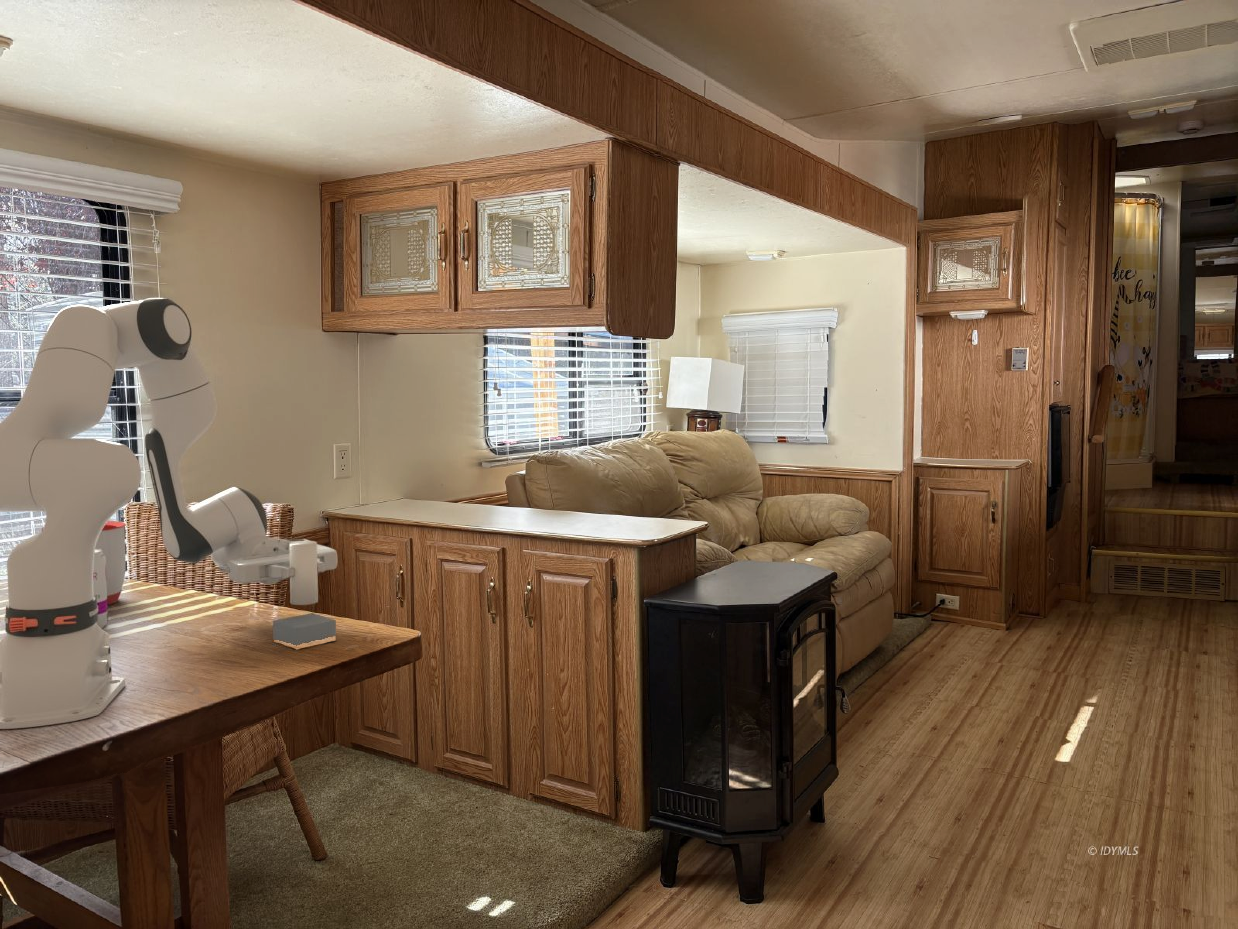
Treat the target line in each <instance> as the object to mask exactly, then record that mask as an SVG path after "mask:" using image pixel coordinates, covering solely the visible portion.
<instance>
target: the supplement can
mask: <svg viewBox="0 0 1238 929" xmlns="http://www.w3.org/2000/svg"><path fill="white" fill-rule="evenodd" d="M93 591H94V597H95V598H96V599H97V605H98V621H97V622H96V623H97V625H98V626H99V627H100V628H101V629H104V627H105V626H106V625H107V624H108V623H109V620H108V618H109V617H108V616H109V615H108V614H109V613H108V605H107V583H106V558H105V556H104V555H103V553H102V550H101V549H95V553H94V570H93Z"/></svg>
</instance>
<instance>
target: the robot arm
mask: <svg viewBox="0 0 1238 929" xmlns="http://www.w3.org/2000/svg"><path fill="white" fill-rule="evenodd" d="M190 322H191V321H190V318H189V317H188V315H187V313H186V312H185V310H184V309H183V308H182V307H181V306H180V305H178V304H177V303H176V302H175V301H174V300H173V299H170V298H165V297H149V298H148V297H147V298H145V299H144V300H138V301H130V302H123V303H114V304H113V303H112V304H110V305H106V306H102V307H99V308H98V307H94V306H90V305H85V304H74V305H70V306H66V307H64V308H62V309H61V310H59V312H57V314H56V315H55V316H54V317H53V319H52V321H51V322H50V325H49V326H48V328H47V330H46V331H45V333H44V336H43V338H42V341H41V343H40V345H39V348H38V351H37V354H36V357H35V360H34V364H33V368H32V370H31V373H30V376H29V379H28V383H27V385H26V388H25V389H24V392H23V394H22V397H21V398H20V400H19V402H18V403H17V405H16V406H15V407H14V408H13V409H12V411H11V412H10V413H9V414H7V416H6V417H5V418H4V419H3V420H2V421H1V422H0V512H6V513H7V512H8V513H10V512H11V513H12V512H43V513H44V512H45V514H46V515H45V516H46V518H45V523H44V526H43V527H44V528H43V527H42V528H43V530H42V529H41V532H39V533H37V534H34V535H32V536H30V537H29V538H27V539H25V540H23V541H21V542H20V543H18V544H17V545H15V547H14V548H13V549H12V550H11V552H10V553H9V555H8V558H7V561H6V570H7V571H6V572H7V592H8V604H7V605H6V607H5V614H4V622H5V624H4V625H5V626H4V628H5V629H4V630H5V633H6V635H5V636H4V637H3V638H2V639H0V730H9V729H11V730H12V729H25V728H32V727H42V726H50V725H57V724H64V723H69V722H75V721H79V720H80V721H81V720H84V719H88V718H92V717H95V716H98V715H100V714H101V713H102V712H103V711H104V710H105V709H106V708H107V706H109V704H110V703H111V702H112V701H113V700H114V698H116V696H118V694H119V693H120V692H121V691H122V690H123V688H124V687H126V679H125V678H124V677H121V676H113V669H112V668H113V667H112V666H113V665H112V655H111V654H112V652H111V642H110V634H109V632H107V631H105V630H103V628H100V627H99V626H98V625H97V623H96V622H97V621H98V605H97V599H96V598H95V597H94V591H93V570H94V553H95V547H96V543H97V540H98V538H99V535H100V533H101V531H102V529H103V527H104V526H105V524H106V523H107V521H110V519H111V518H112V517H113V516H114V515H115V514H116V513H117V512H118V511H119V510H121V509H122V508H124V507H125V506H126V505H127V504H129V503H130V502H131V501H132V499H133V498H134V497H135V495H136V494H137V492H138V491H139V488H140V486H141V485H140V484H141V480H142V470H141V465H140V462H139V460H138V458H137V456H136V454H135V453H134V452H133V451H132V450H131V448H130V447H129V446H127V444H124V443H118V442H115V441H114V442H113V441H110V440H105V439H104V440H103V439H97V438H73V437H75V436H77V435H80V434H81V433H83V432H86V431H88V430H90V429H93V427H95V426H96V425H97V424H98V423H99V422H101V420H102V418H103V417H104V416H105V413H106V410H107V407H108V402H109V398H110V393H111V390H112V386H113V381H114V377H115V373H116V370H123V369H128V368H136V369H137V370H138V371H139V372H138V373H139V375H140V379H141V383H142V386H143V389H144V391H145V395H146V397H147V399H148V401H149V406H150V409H151V425H150V429H149V430H148V432H146V434H145V436H144V447H145V453H146V454H145V455H146V459H147V464H148V469H149V475H150V478H151V483H152V486H153V487H152V488H153V491H154V496H155V500H156V505H157V511H158V515H159V523H160V524H159V525H160V526H159V527H160V533H161V539H162V542H163V545H164V547H165V549H166V551H167V552H168V554H169V555H170V557H171V558H173V559H174V560H177V561H180V562H184V563H190V564H198V563H199V562H201V561H202V560H204V559H205V558H207V557H209V556H210V558H211V561H213V563H214V564H215V565H216V566H217V567H218V570H219V572H221V573H224V574H227V577H228V579H229V580H231V581H232V582H235V583H238V584H250V583H259V584H264V585H272V584H273V585H274V584H276V583H278V582H280V581H282V580H285V579H290V577H294V575H295V574H294V568H293V567H290V555H289V543H291V542H296V541H311V540H309V539H305V538H294V539H289V538H287V539H285V538H283V539H282V538H278V537H269V536H267V533H268V518H267V513H266V511H265V507H264V506H263V503H261V501H260V499H259V498H258V497H257V496H256V495H254V494H253V493H251V492H249V491H248V490H246V489H244V488H242V487H238V486H232V487H230V488H228V489H225V490H223V491H221V492H219V493H216V494H214V495H212V496H210V497H209V498H207V499H204V500H202V501H200V502H198V503H195V504H193V505H192V506H189V507H188V505H187V501H186V496H185V492H184V488H183V482H182V477H181V474H180V464H181V461H182V458H183V456H185V454H186V453H187V451H188V450H189V448H191V446H192V445H194V443H195V442H196V441H198V440H199V439H200V438H201V437H202V436H203V435H204V434H205V433H206V432H207V431H208V429H210V427H211V425H212V424H213V422H214V421H215V418H216V415H217V413H218V401H217V398H216V394H215V391H214V388H213V386H212V384H211V381H210V377H209V376H208V374H207V371H206V368H205V367H204V364H203V363H202V360H201V359H200V357H199V355H198V354H197V352H196V350H195V349H194V347H193V346H192V343H191V342H192V331H193V330H192V324H191V323H190ZM337 567H338V553H337V550H336V549H334V548H332V547H329V546H326V545H323V544H318V543H317V574H319V573H324V572H325V571H331V570H335V569H337Z"/></svg>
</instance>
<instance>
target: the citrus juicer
mask: <svg viewBox="0 0 1238 929" xmlns="http://www.w3.org/2000/svg"><path fill="white" fill-rule="evenodd" d="M126 526H127V525H126V523H125V522H122V521H115V520H108V521H107V523H106V524H105V526H104V527H103V529H102V531H101V533H100V535H99V538H98V540H97V543H96V547H95V549H101V550H102V553H103V555H104V556H105V558H106V583H107V606H108V605H114V604H115V603H116V602H117V601H119V598H120V596H121V594H122V591H123V589H122V588H123V585H124V582H125V576H126V566H127V565H126V563H127V562H126V539H125V538H126V536H125V535H126V532H125V527H126ZM43 528H44V526H43V527H42V528H41V531H42V530H43ZM113 603H114V604H113Z"/></svg>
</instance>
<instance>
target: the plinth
mask: <svg viewBox="0 0 1238 929" xmlns="http://www.w3.org/2000/svg"><path fill="white" fill-rule="evenodd" d="M272 632H273V633H272V634H273V635H272V638H273V639H274V640H279V641H283V642H286V643H291V644H293V645H296V646H297V645H300V644H302V643H309V642H311V641H315V640H322V639H325V638H328V637H333V636H336V637H337V620H336V619H333V618H330V617H326V616H323V615H320V614H317V613H313V612H310V613H305V614H302V615H301V614H300V615H294V616H290V617H289V616H288V617H285V618H279V619H274V620H272ZM273 639H272V640H273Z"/></svg>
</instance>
